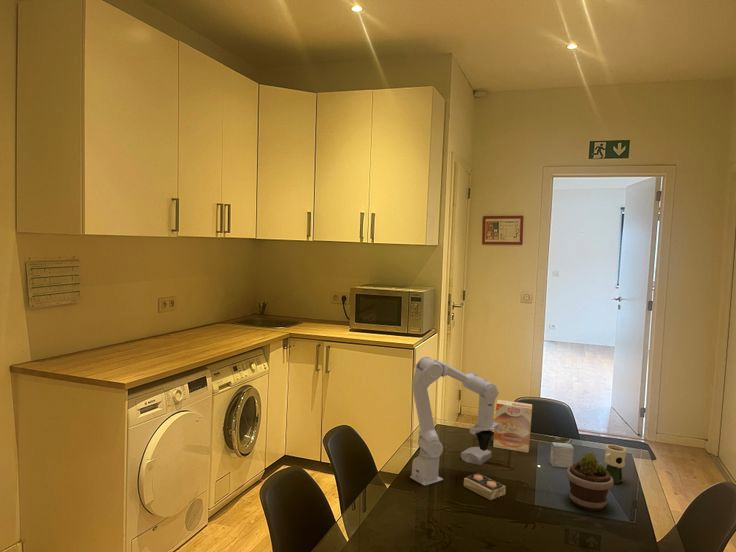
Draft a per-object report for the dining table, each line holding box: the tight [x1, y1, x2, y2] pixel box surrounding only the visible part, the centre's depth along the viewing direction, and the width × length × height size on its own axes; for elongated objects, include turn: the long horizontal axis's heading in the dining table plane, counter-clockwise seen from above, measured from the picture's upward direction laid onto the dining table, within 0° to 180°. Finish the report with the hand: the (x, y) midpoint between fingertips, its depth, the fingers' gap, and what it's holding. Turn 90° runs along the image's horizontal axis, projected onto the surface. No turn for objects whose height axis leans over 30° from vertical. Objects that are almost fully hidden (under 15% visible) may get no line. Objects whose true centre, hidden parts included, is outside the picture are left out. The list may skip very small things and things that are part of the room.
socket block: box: [463, 472, 507, 501], centre depth 185 cm, size 8×12×4 cm, turn 37°
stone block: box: [460, 446, 492, 466], centre depth 214 cm, size 12×5×10 cm
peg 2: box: [487, 481, 496, 488], centre depth 183 cm, size 3×3×3 cm
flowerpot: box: [565, 450, 615, 511], centre depth 179 cm, size 14×15×20 cm
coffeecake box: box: [492, 399, 533, 453], centre depth 229 cm, size 15×7×20 cm, turn 73°
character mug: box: [604, 444, 627, 484], centre depth 200 cm, size 11×7×13 cm, turn 120°
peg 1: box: [474, 474, 484, 481], centre depth 187 cm, size 3×3×3 cm
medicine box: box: [549, 441, 575, 469], centre depth 212 cm, size 8×4×9 cm, turn 84°
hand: (483, 449), depth 197 cm, fingers closed
